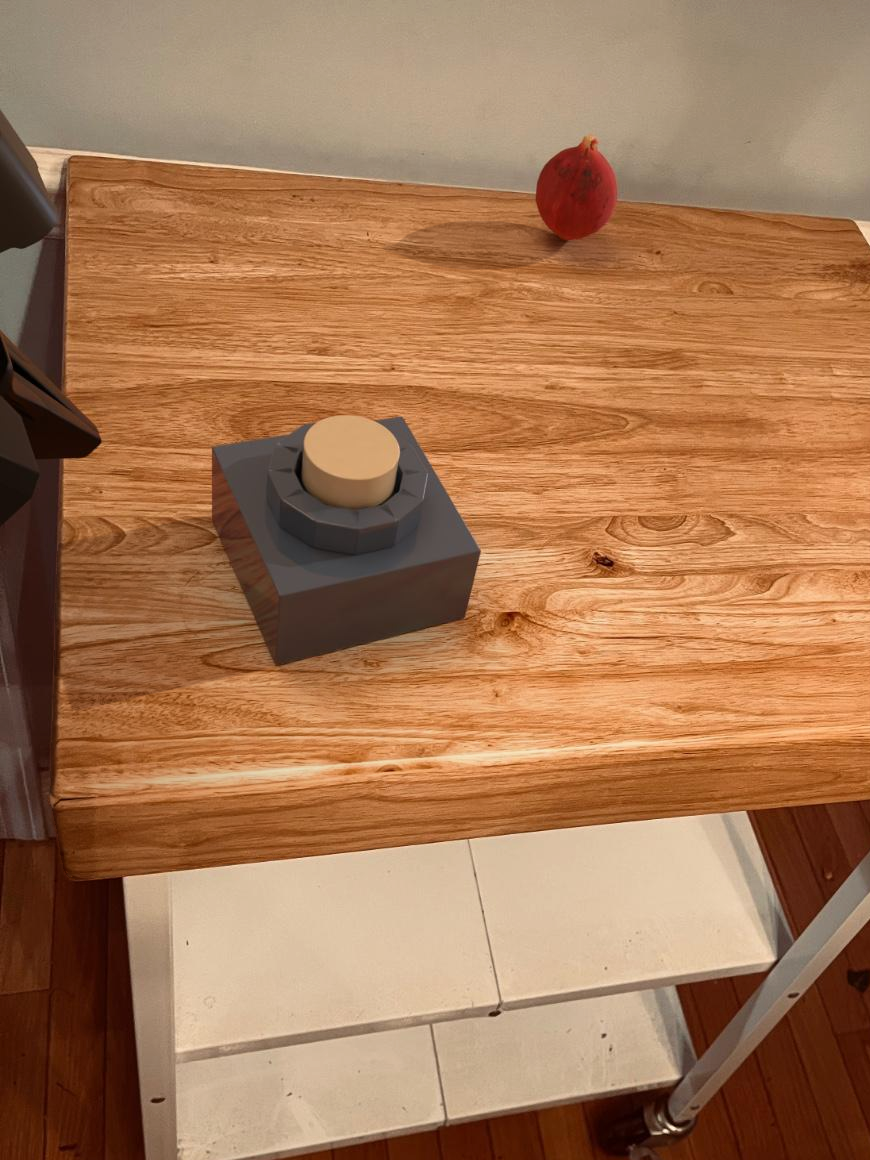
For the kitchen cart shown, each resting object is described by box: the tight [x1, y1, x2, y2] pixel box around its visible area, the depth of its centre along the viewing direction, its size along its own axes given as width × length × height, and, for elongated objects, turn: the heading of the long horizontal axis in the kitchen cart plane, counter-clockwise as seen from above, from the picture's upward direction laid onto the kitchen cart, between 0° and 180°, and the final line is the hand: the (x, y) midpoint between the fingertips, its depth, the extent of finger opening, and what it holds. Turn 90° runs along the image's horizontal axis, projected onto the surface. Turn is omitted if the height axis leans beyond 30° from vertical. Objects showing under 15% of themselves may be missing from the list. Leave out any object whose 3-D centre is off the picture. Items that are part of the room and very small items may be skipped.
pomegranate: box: [534, 134, 618, 242], centre depth 84 cm, size 6×6×8 cm
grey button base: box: [211, 416, 482, 666], centre depth 59 cm, size 10×10×7 cm
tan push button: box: [301, 414, 400, 510], centre depth 56 cm, size 4×4×2 cm
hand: (92, 443), depth 46 cm, fingers closed
